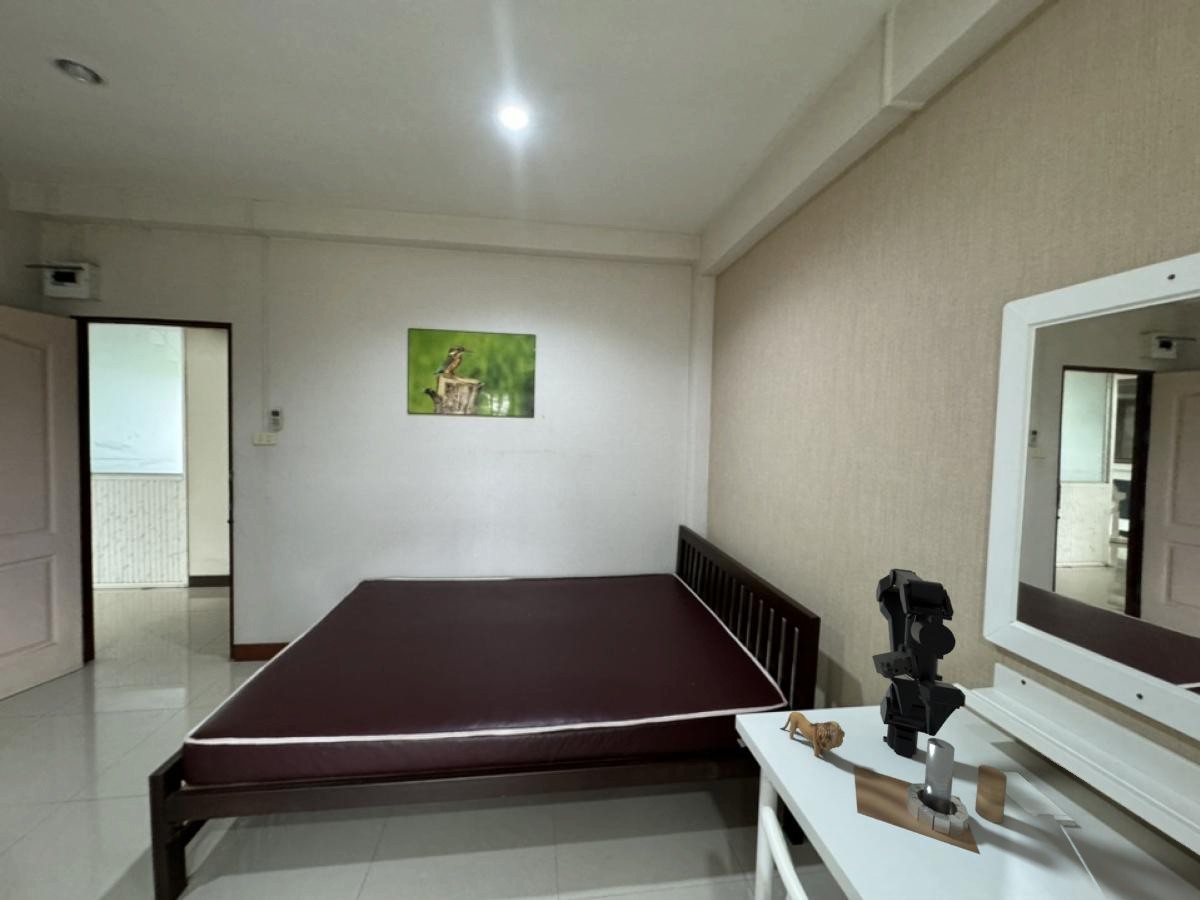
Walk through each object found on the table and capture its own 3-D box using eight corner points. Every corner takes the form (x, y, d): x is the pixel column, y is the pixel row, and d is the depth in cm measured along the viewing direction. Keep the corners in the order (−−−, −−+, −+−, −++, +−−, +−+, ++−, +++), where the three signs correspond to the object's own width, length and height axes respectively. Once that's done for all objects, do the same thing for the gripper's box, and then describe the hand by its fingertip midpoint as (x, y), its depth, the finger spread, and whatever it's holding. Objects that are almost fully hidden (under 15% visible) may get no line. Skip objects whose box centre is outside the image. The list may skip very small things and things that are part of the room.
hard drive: (978, 770, 100) (1031, 817, 88) (1017, 772, 100) (1076, 820, 88) (977, 777, 100) (1031, 826, 88) (1017, 779, 100) (1075, 828, 88)
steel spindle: (917, 805, 90) (922, 737, 89) (939, 806, 90) (944, 738, 89) (932, 822, 86) (937, 751, 85) (954, 824, 86) (960, 752, 85)
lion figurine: (847, 764, 102) (849, 723, 101) (834, 774, 98) (837, 732, 98) (784, 728, 113) (786, 691, 113) (770, 736, 110) (773, 698, 110)
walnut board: (853, 770, 100) (853, 765, 100) (958, 802, 92) (959, 797, 92) (857, 817, 87) (857, 812, 87) (979, 859, 80) (980, 854, 80)
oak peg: (972, 808, 91) (976, 762, 91) (998, 816, 89) (1002, 769, 89) (978, 823, 87) (982, 775, 87) (1005, 832, 86) (1010, 783, 85)
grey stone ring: (903, 789, 94) (904, 777, 94) (959, 807, 90) (960, 794, 90) (910, 822, 86) (911, 809, 85) (972, 843, 82) (974, 829, 82)
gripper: (858, 626, 107) (853, 700, 105) (905, 649, 89) (900, 739, 87) (911, 634, 106) (907, 708, 104) (969, 660, 87) (965, 750, 86)
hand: (917, 724), depth 95 cm, fingers open, 9 cm apart
